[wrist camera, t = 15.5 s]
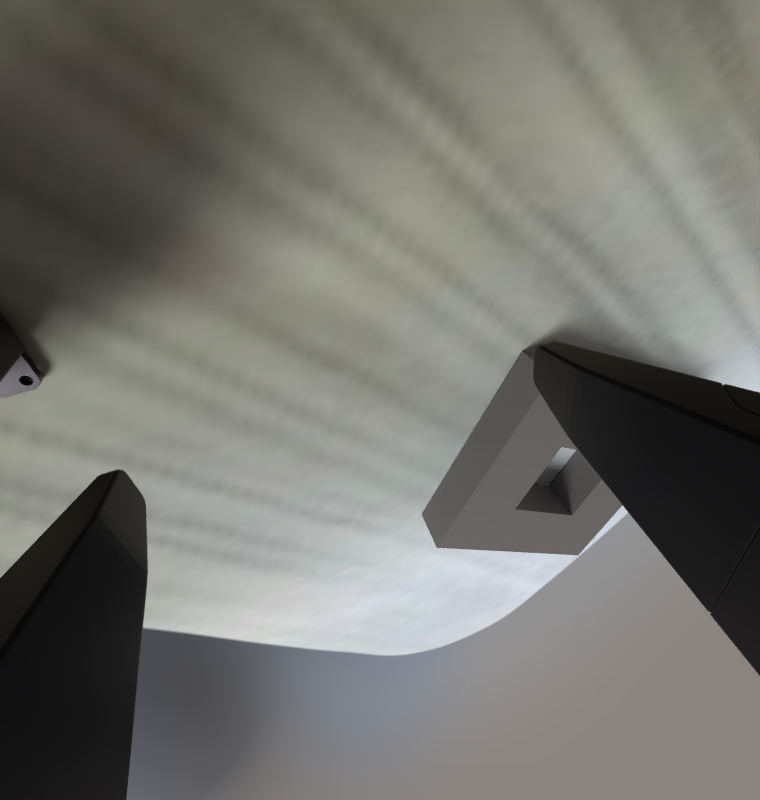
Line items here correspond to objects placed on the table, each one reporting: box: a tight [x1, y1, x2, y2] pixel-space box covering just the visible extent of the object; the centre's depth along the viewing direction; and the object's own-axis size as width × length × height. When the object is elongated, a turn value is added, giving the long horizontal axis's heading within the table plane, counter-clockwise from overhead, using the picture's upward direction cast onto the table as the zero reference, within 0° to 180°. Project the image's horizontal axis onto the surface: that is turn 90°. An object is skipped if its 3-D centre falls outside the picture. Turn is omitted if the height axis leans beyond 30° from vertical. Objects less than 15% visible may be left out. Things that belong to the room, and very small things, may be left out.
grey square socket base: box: [422, 351, 622, 555], centre depth 32 cm, size 14×14×3 cm
